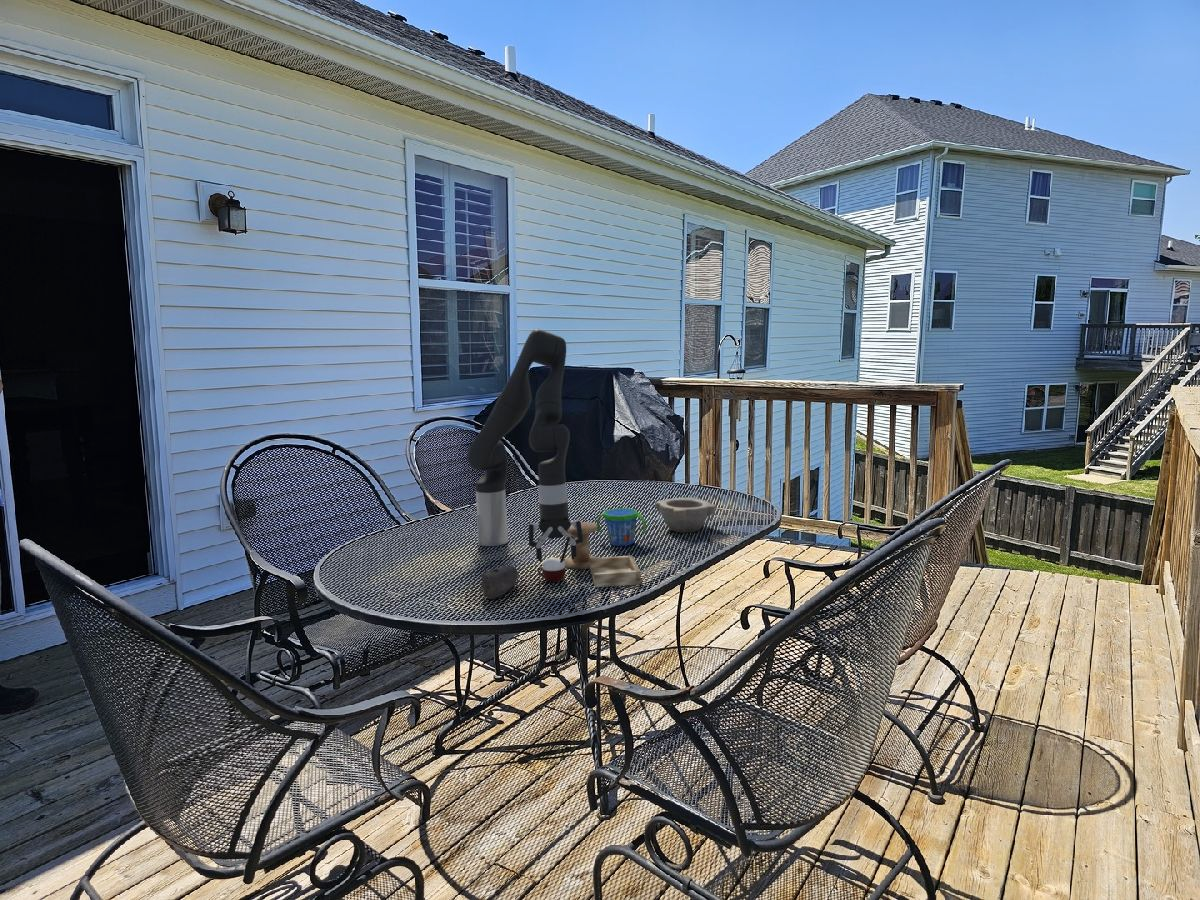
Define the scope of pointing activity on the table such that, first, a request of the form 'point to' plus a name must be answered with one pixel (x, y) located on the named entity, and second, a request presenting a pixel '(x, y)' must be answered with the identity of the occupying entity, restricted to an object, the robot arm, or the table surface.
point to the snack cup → (621, 525)
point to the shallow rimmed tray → (614, 571)
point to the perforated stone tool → (498, 581)
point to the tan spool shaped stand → (581, 547)
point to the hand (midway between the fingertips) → (556, 559)
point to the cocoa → (554, 567)
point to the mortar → (685, 513)
